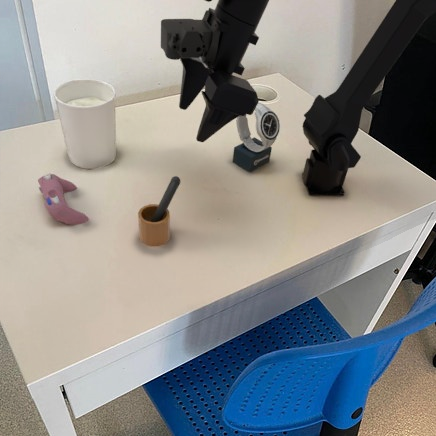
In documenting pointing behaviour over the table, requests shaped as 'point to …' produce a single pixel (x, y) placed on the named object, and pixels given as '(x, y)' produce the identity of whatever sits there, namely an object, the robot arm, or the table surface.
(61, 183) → the video game controller
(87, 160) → the candle holder
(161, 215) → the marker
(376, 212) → the table surface
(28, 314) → the table surface
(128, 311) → the table surface
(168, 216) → the brown wooden cup
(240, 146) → the watch
